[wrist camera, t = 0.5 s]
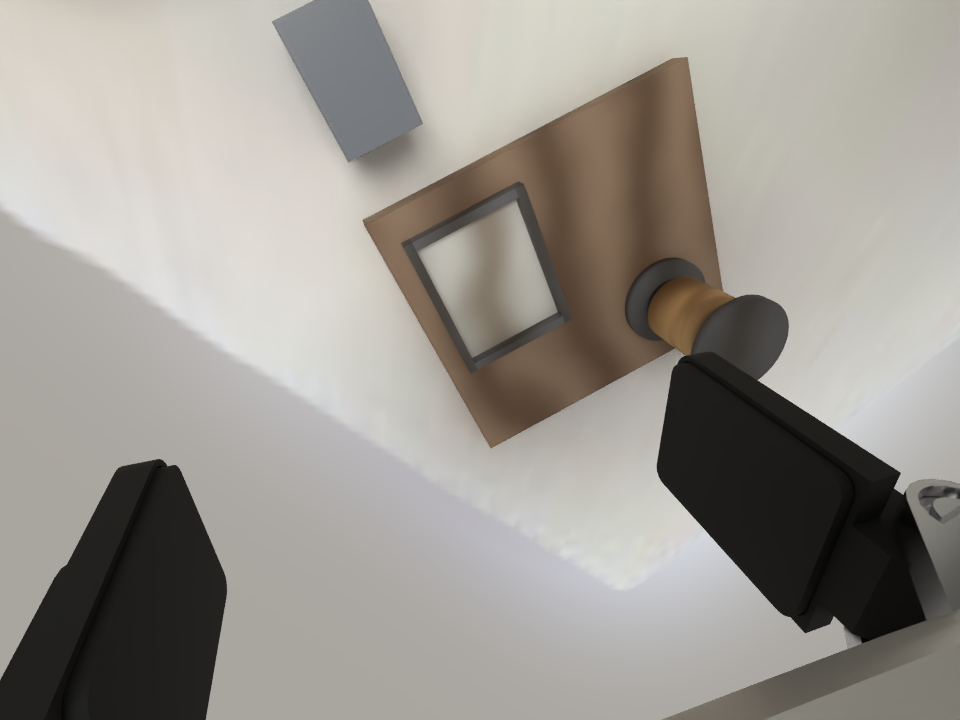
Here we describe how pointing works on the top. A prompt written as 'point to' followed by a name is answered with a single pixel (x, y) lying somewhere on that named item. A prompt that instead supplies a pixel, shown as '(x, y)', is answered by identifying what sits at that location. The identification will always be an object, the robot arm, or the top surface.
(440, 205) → the winding board
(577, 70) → the top surface
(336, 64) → the gray rectangular block
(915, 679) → the robot arm
